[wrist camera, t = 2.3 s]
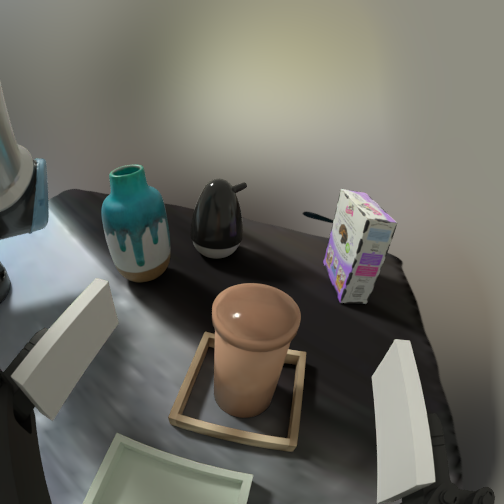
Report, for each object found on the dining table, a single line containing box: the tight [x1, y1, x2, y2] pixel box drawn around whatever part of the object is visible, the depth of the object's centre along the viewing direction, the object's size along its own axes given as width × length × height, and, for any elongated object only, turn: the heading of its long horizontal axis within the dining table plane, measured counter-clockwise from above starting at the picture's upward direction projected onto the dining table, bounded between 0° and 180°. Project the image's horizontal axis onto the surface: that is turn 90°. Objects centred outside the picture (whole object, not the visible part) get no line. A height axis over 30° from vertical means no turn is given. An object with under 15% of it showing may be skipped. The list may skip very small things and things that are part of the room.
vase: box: [102, 165, 170, 282], centre depth 43 cm, size 11×11×19 cm
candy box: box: [323, 189, 397, 304], centre depth 50 cm, size 14×6×16 cm, turn 2°
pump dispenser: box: [190, 179, 247, 259], centre depth 54 cm, size 10×10×15 cm
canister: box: [212, 283, 301, 418], centre depth 28 cm, size 8×8×14 cm
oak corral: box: [168, 332, 306, 452], centre depth 31 cm, size 14×14×2 cm
